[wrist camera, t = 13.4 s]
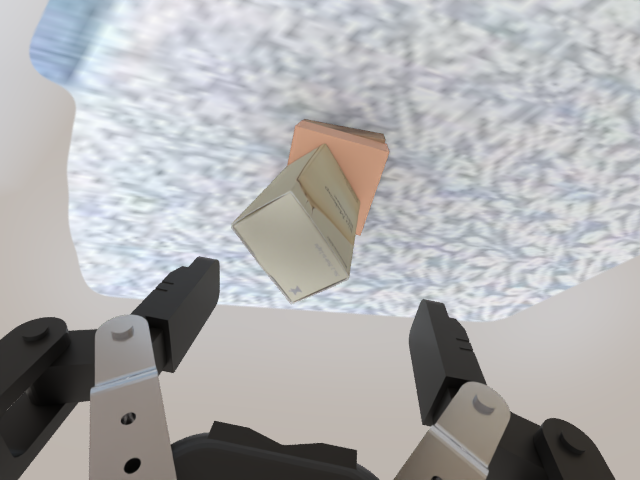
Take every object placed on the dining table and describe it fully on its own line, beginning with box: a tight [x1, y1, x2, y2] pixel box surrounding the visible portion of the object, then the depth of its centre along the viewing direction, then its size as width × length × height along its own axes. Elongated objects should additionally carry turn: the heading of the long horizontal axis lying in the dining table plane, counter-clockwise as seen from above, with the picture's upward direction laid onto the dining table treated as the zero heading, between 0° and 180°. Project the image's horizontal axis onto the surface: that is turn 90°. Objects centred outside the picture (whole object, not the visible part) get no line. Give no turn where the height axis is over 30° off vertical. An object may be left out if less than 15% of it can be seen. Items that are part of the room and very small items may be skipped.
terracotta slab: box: [287, 120, 389, 235], centre depth 30 cm, size 8×8×4 cm
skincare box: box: [231, 144, 360, 304], centre depth 23 cm, size 6×4×12 cm
